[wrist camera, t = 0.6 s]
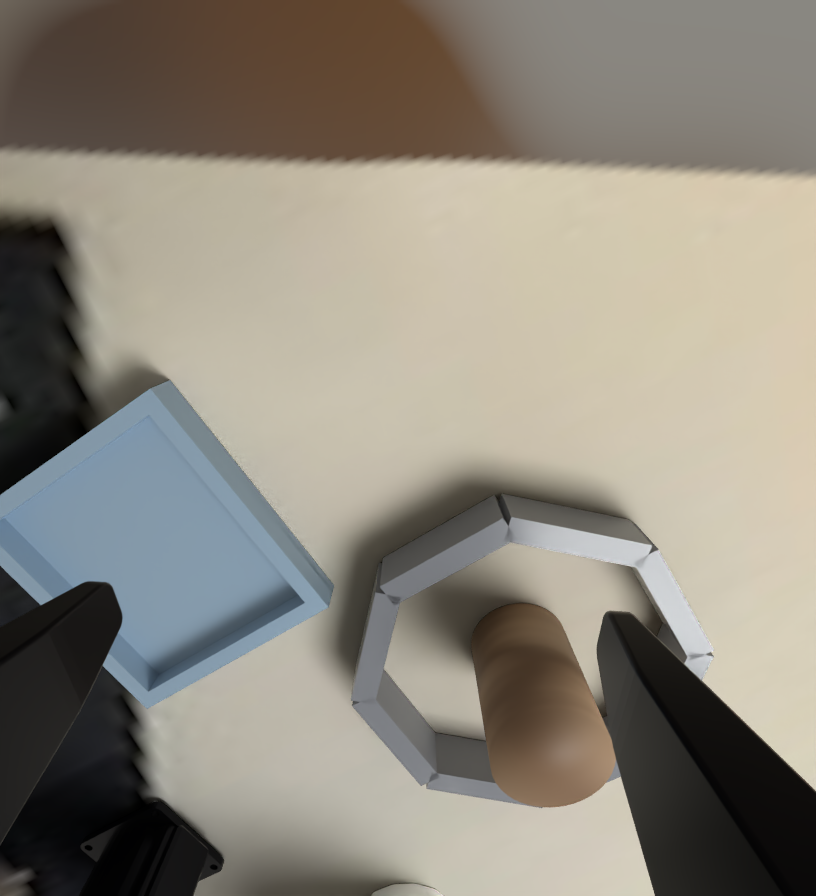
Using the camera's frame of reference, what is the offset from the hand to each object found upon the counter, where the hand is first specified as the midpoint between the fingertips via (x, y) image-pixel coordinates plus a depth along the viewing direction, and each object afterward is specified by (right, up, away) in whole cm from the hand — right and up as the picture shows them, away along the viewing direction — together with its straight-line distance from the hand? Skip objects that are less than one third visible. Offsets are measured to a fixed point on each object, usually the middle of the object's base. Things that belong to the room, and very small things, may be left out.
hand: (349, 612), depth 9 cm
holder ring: (+7, -7, +18) cm, 20 cm away
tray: (-11, -2, +16) cm, 20 cm away
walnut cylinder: (+7, -7, +18) cm, 20 cm away
